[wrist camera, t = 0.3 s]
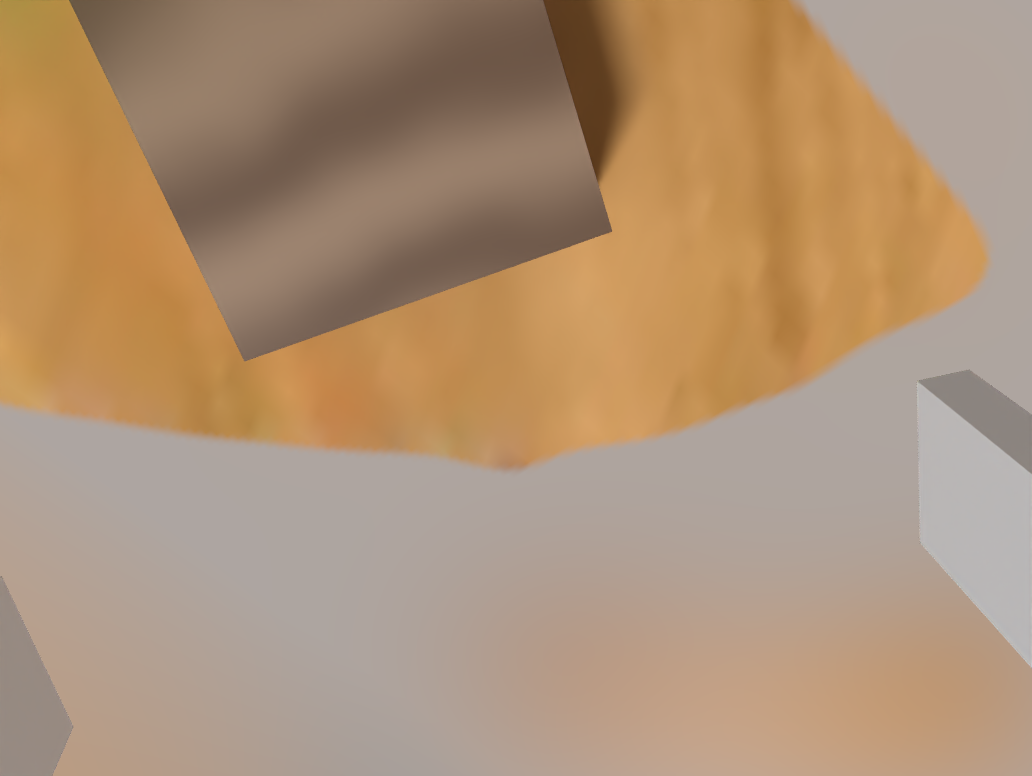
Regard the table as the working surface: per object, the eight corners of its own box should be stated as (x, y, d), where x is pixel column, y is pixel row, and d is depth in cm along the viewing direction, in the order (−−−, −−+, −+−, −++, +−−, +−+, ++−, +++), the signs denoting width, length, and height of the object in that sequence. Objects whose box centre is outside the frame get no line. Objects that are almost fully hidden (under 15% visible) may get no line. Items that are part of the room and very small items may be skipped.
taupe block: (96, -39, 35) (49, -40, 30) (472, -178, 34) (482, -201, 30) (263, 316, 40) (244, 361, 36) (588, 201, 40) (612, 231, 35)
